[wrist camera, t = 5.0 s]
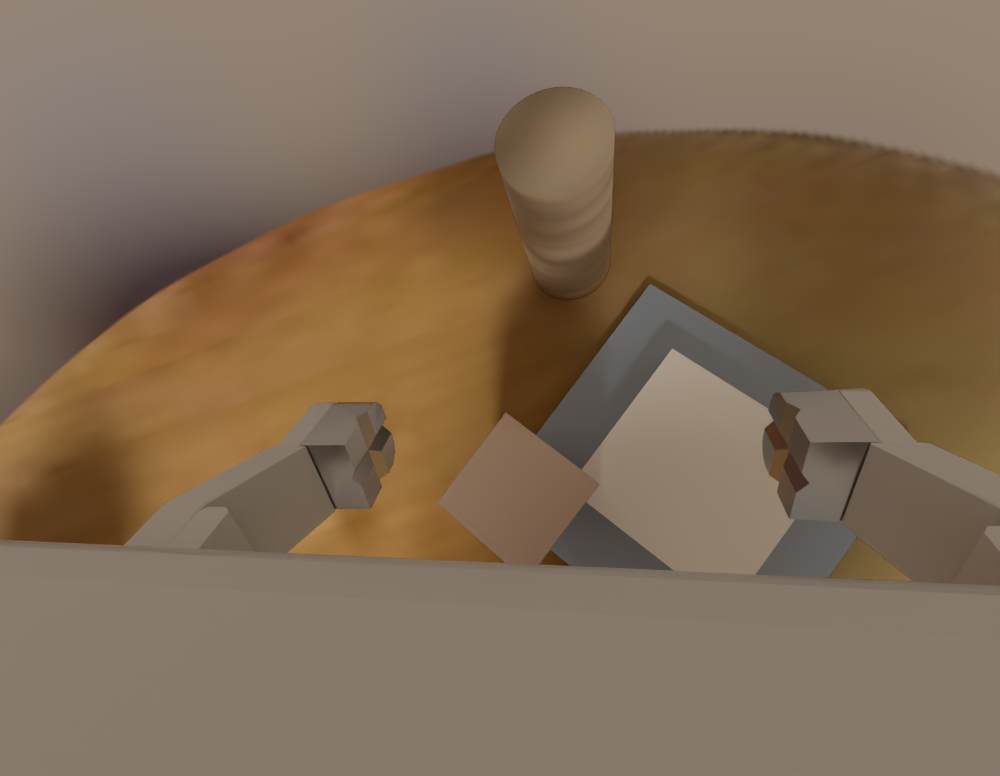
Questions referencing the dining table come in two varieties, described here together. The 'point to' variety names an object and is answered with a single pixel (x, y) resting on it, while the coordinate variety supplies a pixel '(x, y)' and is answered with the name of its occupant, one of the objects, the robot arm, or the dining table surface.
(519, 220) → the birch column
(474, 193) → the dining table surface
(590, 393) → the build base
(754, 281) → the dining table surface
